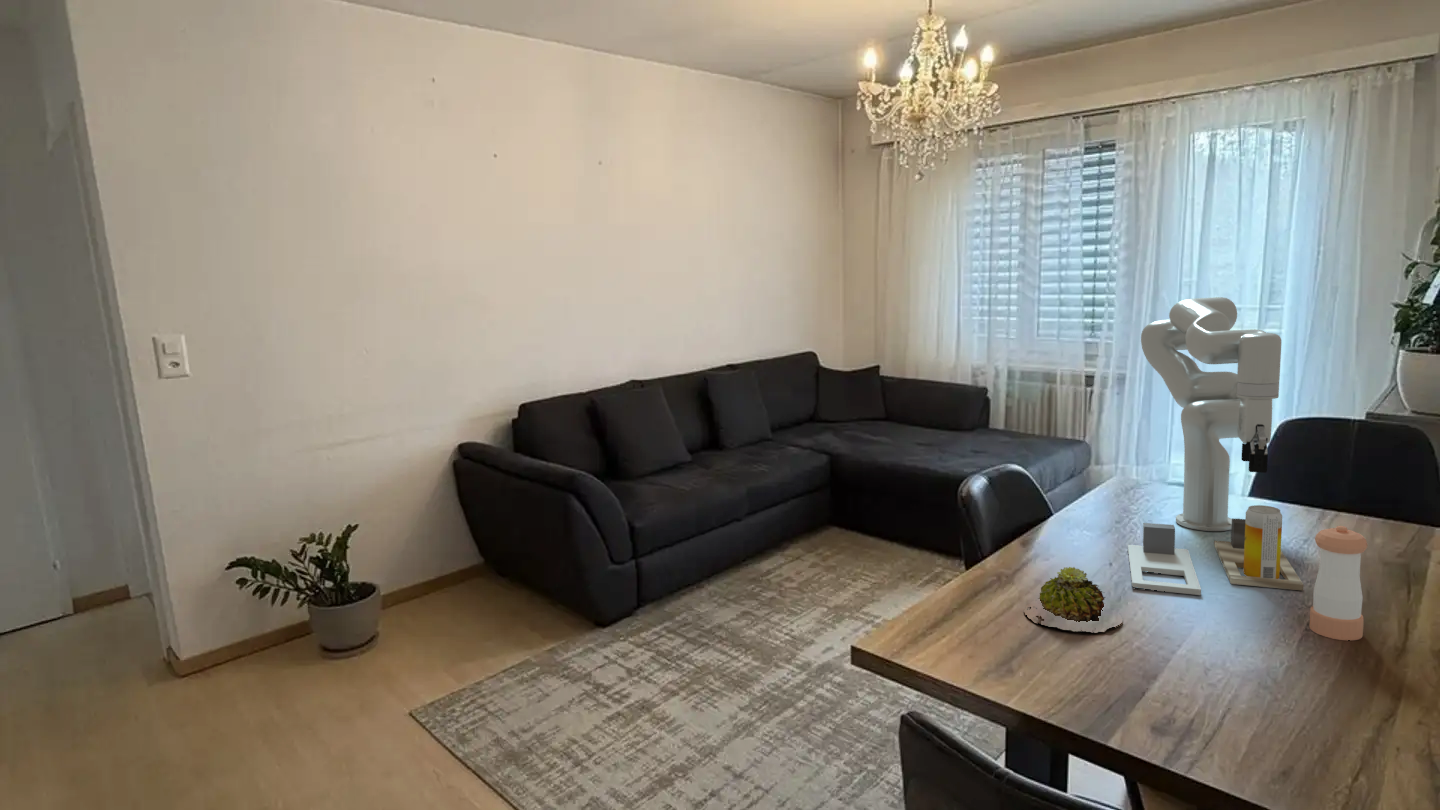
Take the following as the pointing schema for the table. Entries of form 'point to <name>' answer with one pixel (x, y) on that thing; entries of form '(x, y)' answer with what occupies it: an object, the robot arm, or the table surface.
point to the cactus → (1072, 596)
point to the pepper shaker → (1338, 585)
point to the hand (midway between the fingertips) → (1253, 466)
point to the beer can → (1262, 542)
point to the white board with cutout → (1162, 561)
